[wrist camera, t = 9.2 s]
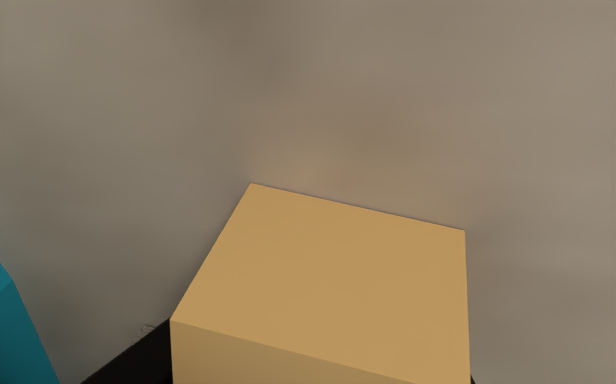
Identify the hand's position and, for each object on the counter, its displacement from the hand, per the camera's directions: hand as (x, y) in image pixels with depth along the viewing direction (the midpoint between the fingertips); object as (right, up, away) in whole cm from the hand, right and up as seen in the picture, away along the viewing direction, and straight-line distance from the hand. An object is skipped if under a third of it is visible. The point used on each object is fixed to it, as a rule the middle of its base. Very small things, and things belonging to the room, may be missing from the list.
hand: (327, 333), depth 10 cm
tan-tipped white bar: (0, -2, +2) cm, 3 cm away
